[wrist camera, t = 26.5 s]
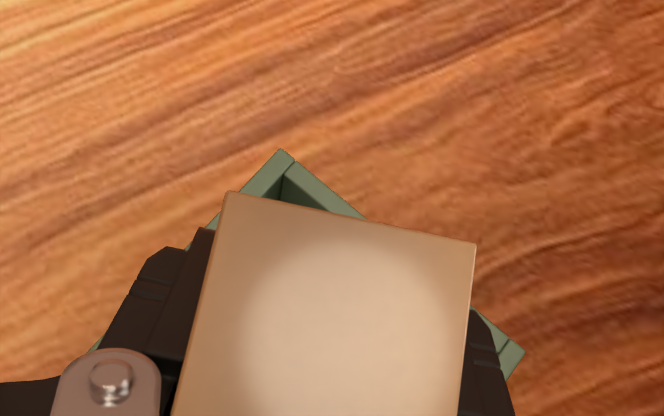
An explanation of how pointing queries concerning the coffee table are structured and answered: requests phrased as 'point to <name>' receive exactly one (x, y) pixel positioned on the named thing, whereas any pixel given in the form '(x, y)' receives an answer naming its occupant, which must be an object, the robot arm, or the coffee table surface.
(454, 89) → the coffee table surface
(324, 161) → the coffee table surface
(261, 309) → the eraser
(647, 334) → the coffee table surface
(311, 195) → the tray
